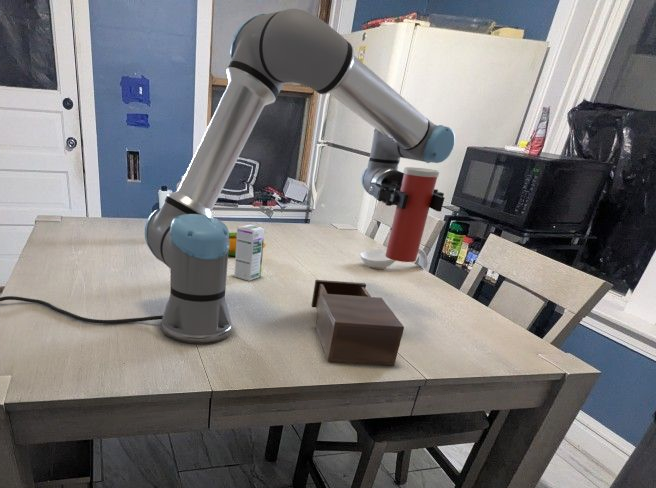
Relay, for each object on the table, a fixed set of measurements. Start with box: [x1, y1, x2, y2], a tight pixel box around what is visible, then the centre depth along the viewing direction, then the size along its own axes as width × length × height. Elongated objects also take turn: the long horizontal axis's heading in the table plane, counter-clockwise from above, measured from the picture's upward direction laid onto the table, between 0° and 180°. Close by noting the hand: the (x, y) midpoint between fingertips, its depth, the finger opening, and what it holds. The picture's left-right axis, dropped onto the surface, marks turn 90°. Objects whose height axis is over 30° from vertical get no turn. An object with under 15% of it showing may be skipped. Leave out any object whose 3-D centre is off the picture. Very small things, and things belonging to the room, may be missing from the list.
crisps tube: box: [386, 166, 440, 263], centre depth 103 cm, size 7×7×18 cm
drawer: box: [310, 279, 372, 314], centre depth 116 cm, size 20×12×7 cm, turn 0°
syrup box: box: [233, 223, 266, 282], centre depth 139 cm, size 6×6×14 cm
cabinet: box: [315, 293, 405, 367], centre depth 103 cm, size 17×14×9 cm
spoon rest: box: [359, 248, 429, 270], centre depth 162 cm, size 24×12×7 cm, turn 102°
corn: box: [228, 232, 267, 257], centre depth 161 cm, size 7×8×20 cm
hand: (423, 203), depth 97 cm, fingers closed on crisps tube, 7 cm apart
